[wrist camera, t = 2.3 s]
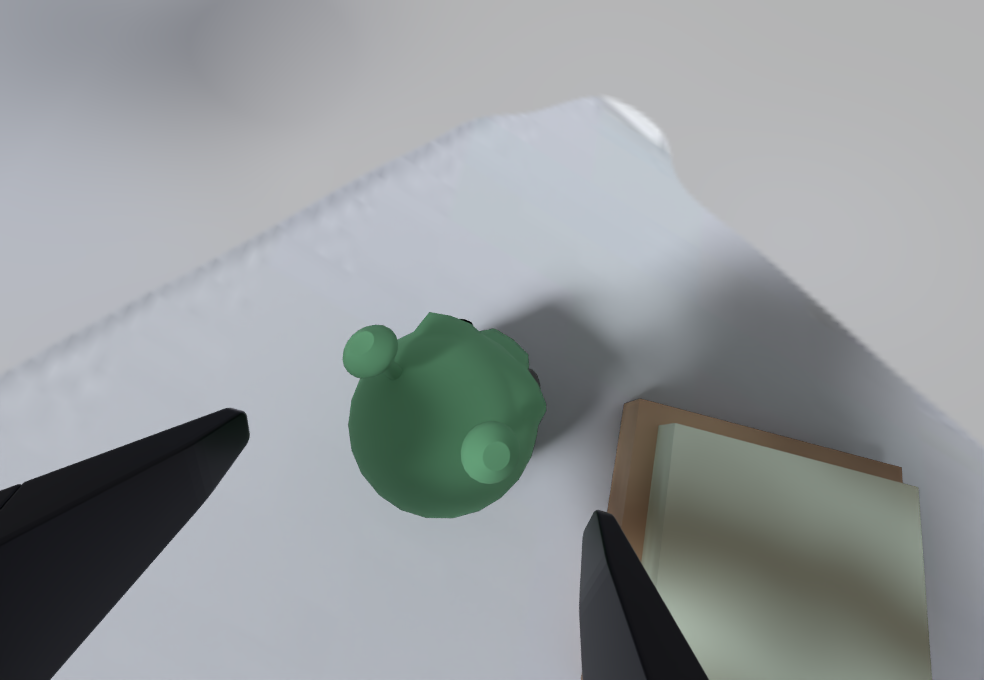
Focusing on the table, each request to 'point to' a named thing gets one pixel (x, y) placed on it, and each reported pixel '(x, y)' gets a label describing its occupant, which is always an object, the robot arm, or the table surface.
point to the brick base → (774, 549)
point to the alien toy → (441, 414)
